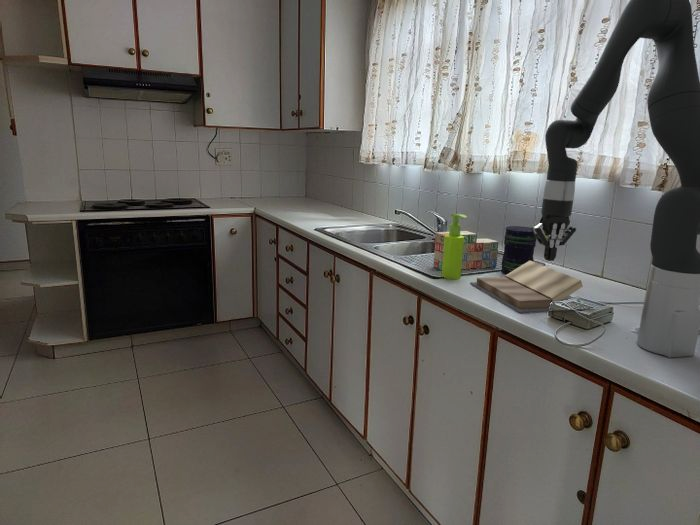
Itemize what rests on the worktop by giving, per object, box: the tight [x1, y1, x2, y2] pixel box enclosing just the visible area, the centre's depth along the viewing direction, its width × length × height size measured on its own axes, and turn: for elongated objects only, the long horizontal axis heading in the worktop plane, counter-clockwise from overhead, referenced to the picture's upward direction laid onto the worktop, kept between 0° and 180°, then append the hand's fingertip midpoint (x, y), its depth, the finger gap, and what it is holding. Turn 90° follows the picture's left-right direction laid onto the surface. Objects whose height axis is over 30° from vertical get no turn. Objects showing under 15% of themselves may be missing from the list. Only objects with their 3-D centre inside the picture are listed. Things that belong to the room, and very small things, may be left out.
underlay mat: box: [469, 281, 574, 314], centre depth 131 cm, size 26×22×1 cm
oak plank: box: [504, 261, 583, 302], centre depth 131 cm, size 22×9×2 cm, turn 14°
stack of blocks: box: [433, 230, 499, 271], centre depth 160 cm, size 21×6×12 cm, turn 110°
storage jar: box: [500, 225, 537, 276], centre depth 154 cm, size 10×10×15 cm
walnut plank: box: [476, 276, 551, 309], centre depth 130 cm, size 22×9×2 cm, turn 14°
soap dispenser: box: [441, 213, 468, 280], centre depth 146 cm, size 6×7×20 cm
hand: (549, 260), depth 130 cm, fingers closed
